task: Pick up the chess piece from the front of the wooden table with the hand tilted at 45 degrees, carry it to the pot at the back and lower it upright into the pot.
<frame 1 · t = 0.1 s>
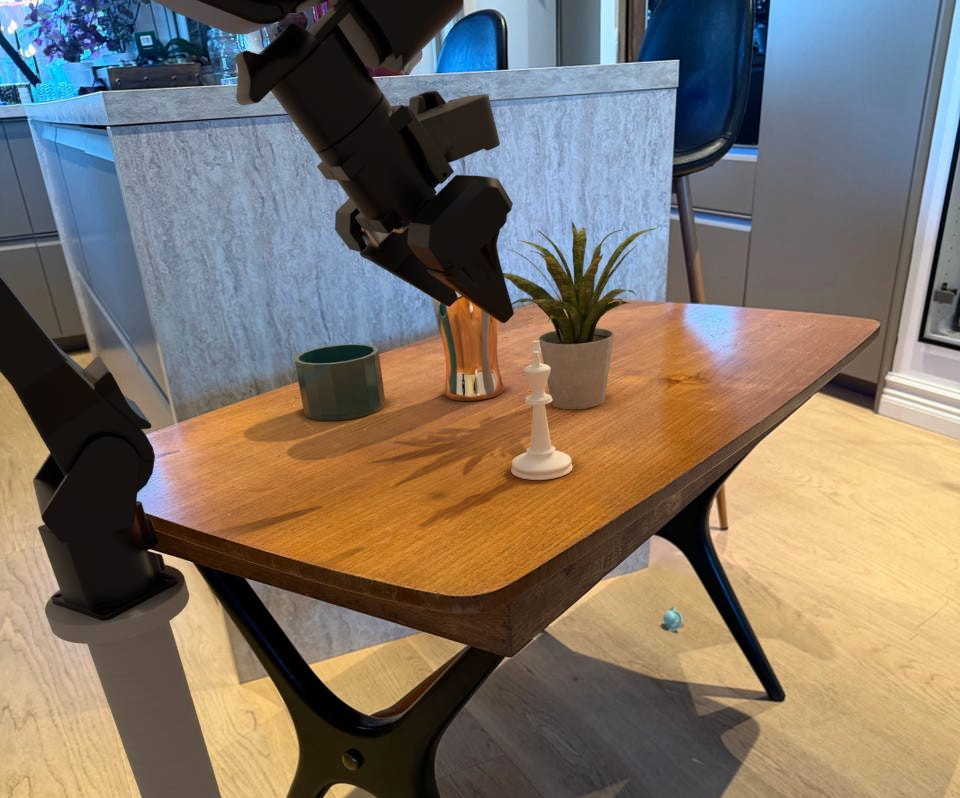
hand: (479, 310, 68), 12 cm above the table, tool tilted 35°, fingers open, 9 cm apart
beer glass: (474, 394, 93), on the table
chess piece: (541, 471, 72), on the table
pot: (344, 408, 91), on the table
house plant: (586, 399, 88), on the table
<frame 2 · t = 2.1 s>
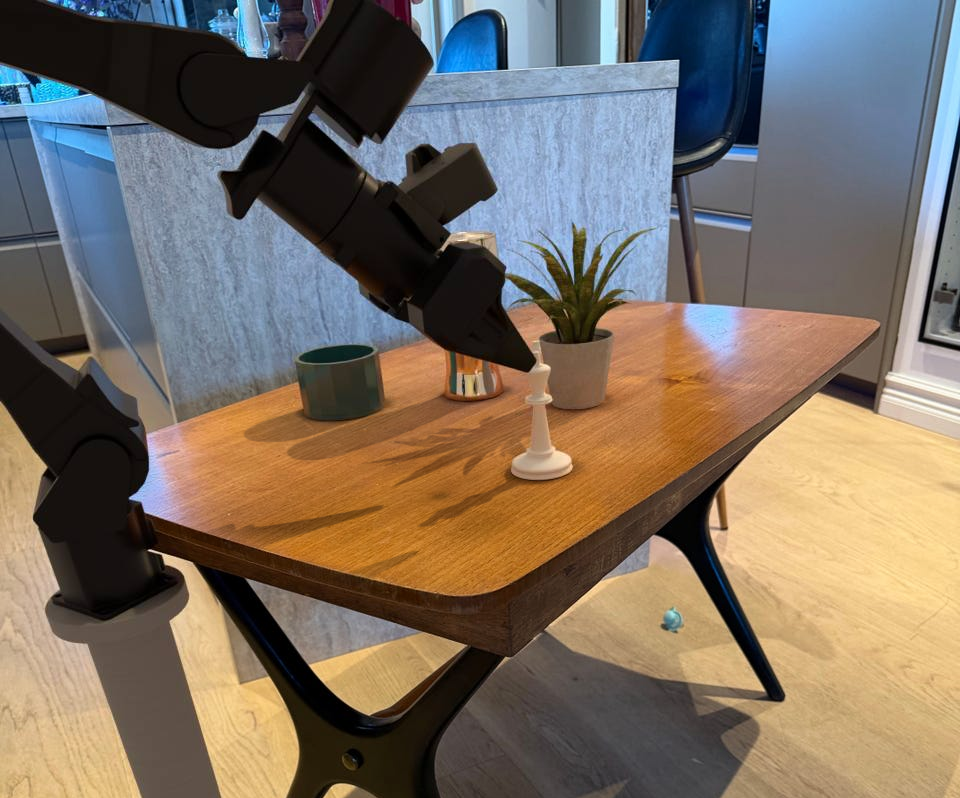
hand: (508, 354, 66), 9 cm above the table, tool tilted 45°, fingers open, 9 cm apart
nothing on the table moved.
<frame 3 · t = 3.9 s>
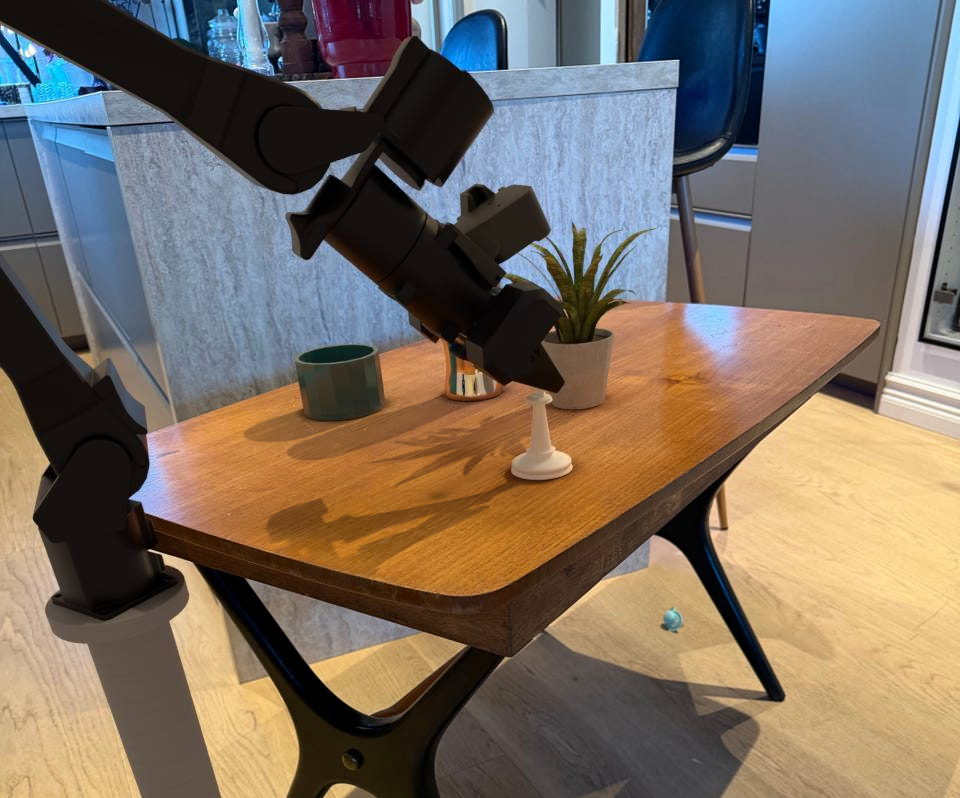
hand: (554, 384, 69), 7 cm above the table, tool tilted 45°, fingers closed on chess piece
chess piece: (541, 471, 72), on the table, touching gripper
everything else where it was.
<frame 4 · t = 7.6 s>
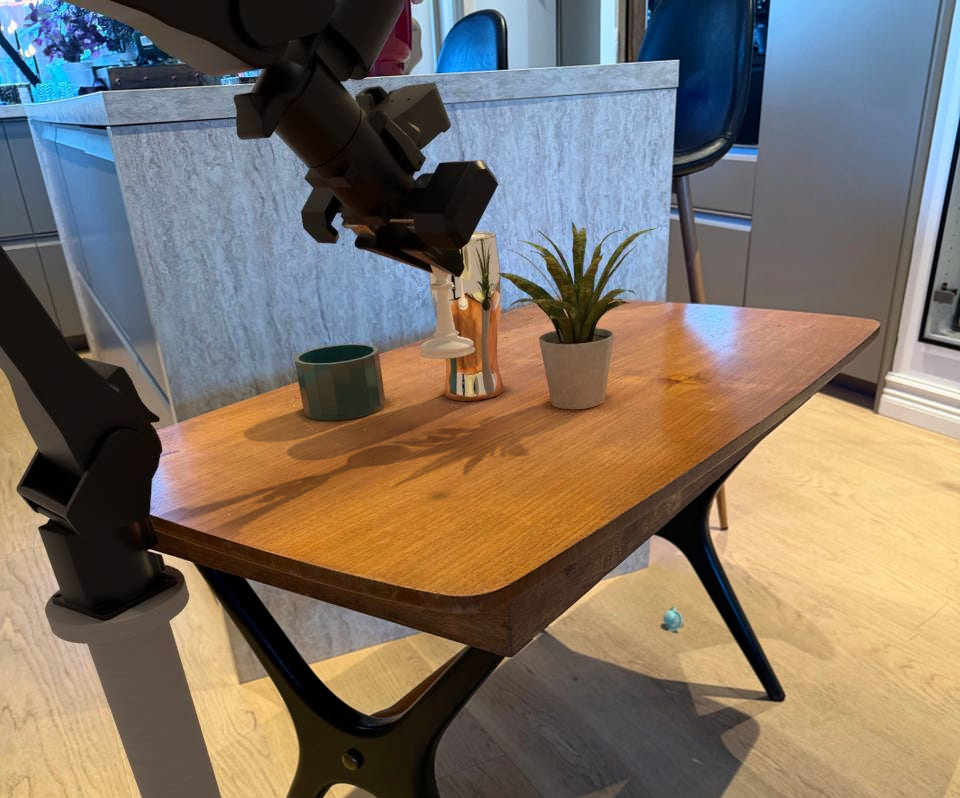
hand: (452, 271, 77), 13 cm above the table, tool tilted 45°, fingers closed on chess piece
chess piece: (447, 354, 80), point 7 cm above the table, touching gripper
everything else where it was.
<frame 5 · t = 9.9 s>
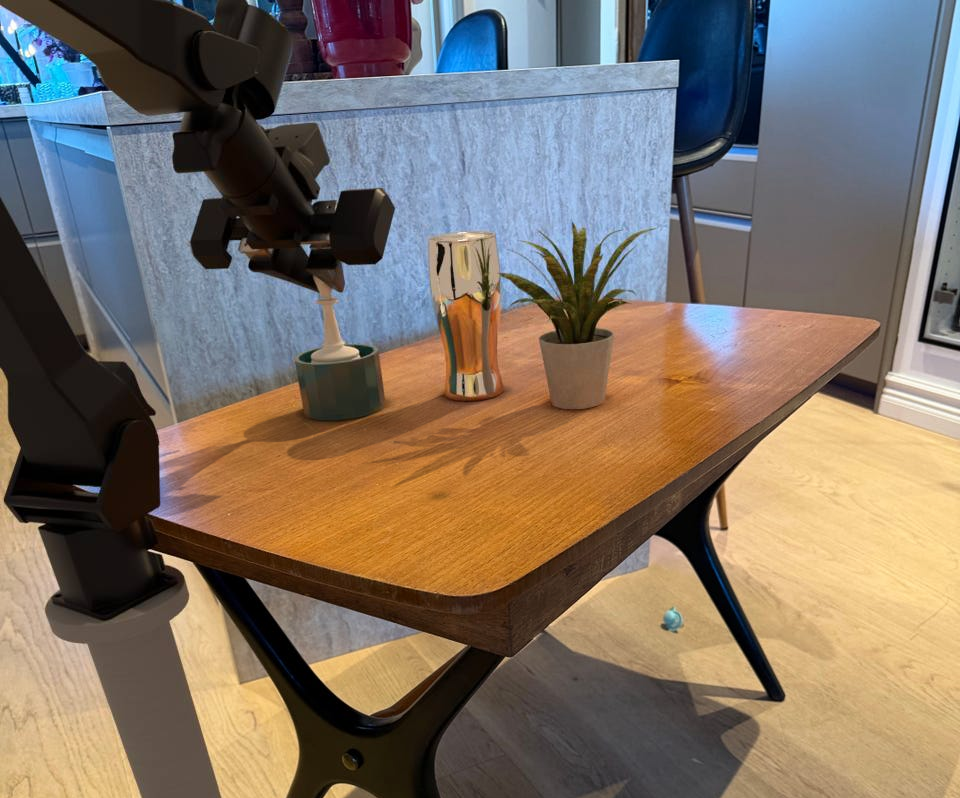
hand: (332, 288, 87), 11 cm above the table, tool tilted 45°, fingers closed on chess piece
chess piece: (336, 362, 89), point 5 cm above the table, touching gripper
everything else where it was.
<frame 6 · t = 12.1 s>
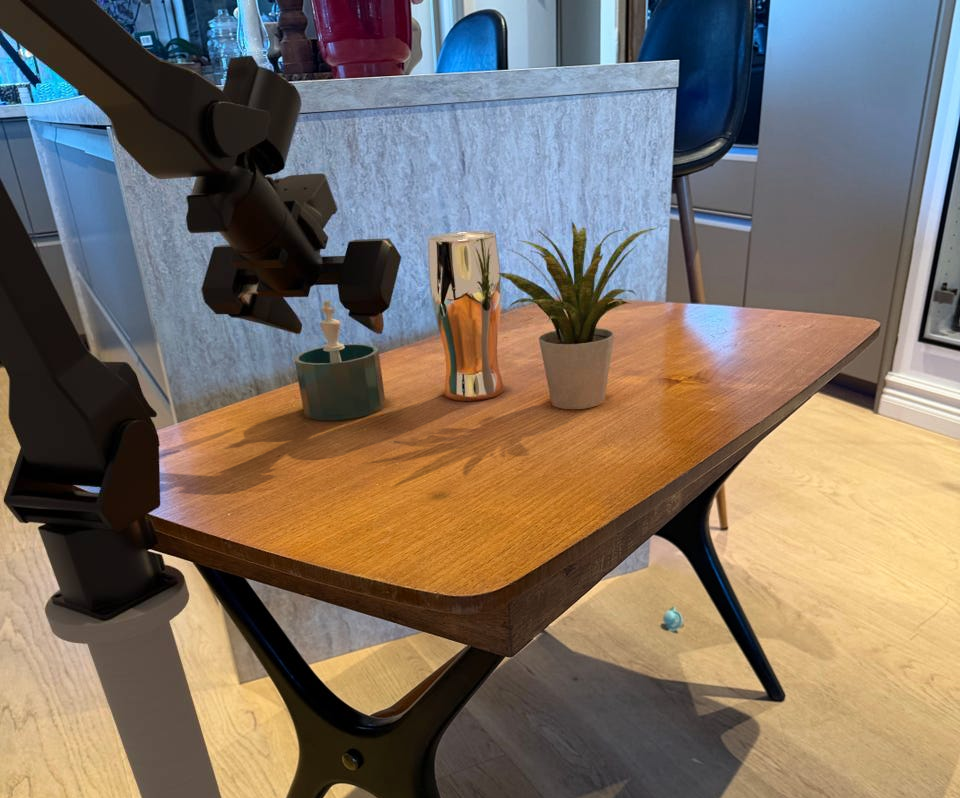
hand: (339, 329, 89), 7 cm above the table, tool tilted 45°, fingers open, 9 cm apart
chess piece: (343, 406, 91), resting on pot
everything else where it was.
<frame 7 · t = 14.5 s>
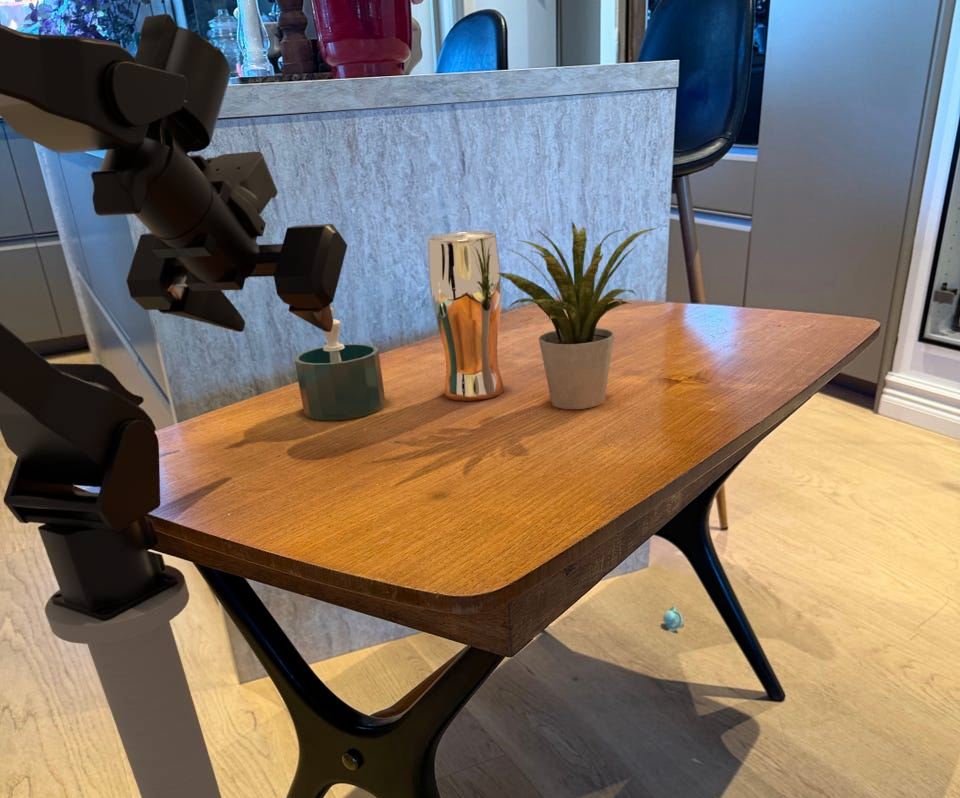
hand: (285, 327, 80), 10 cm above the table, tool tilted 45°, fingers open, 9 cm apart
nothing on the table moved.
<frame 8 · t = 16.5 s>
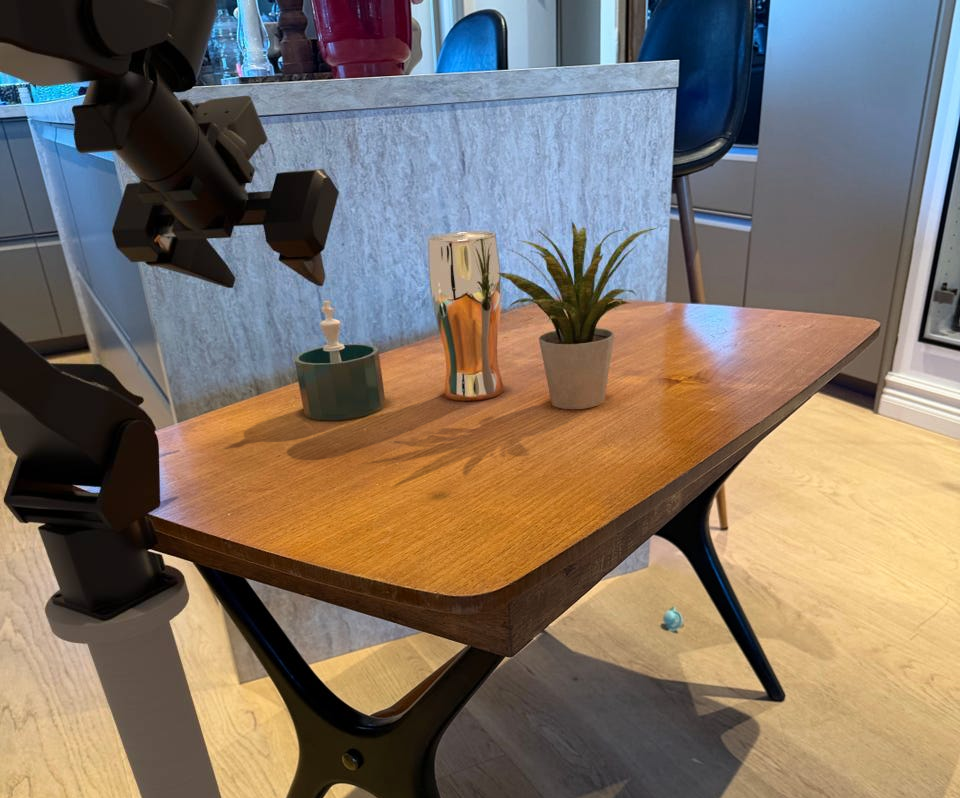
hand: (276, 282, 78), 14 cm above the table, tool tilted 45°, fingers open, 9 cm apart
nothing on the table moved.
at the end: chess piece 0.2 cm off-centre in the pot, point 0.3 cm above the pot's base; chess piece tilted 0°; the gripper is holding nothing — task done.
